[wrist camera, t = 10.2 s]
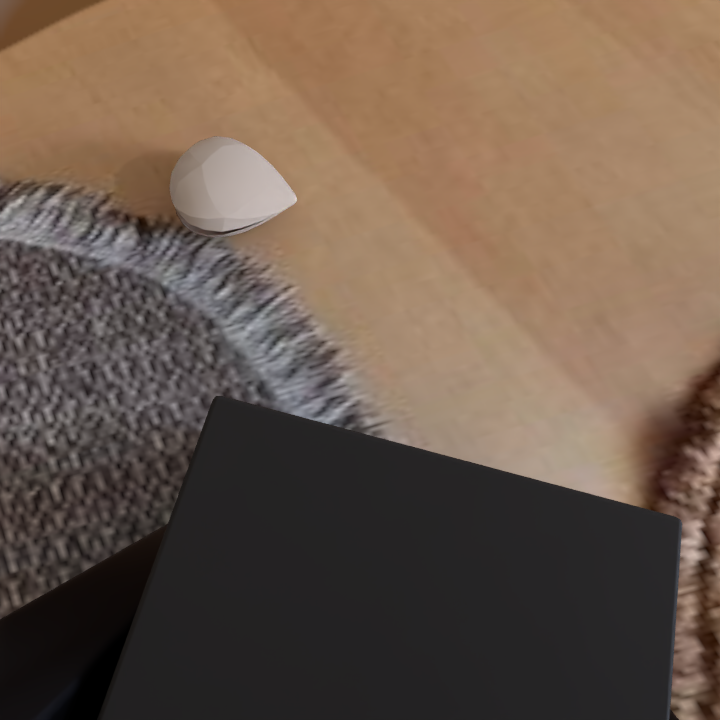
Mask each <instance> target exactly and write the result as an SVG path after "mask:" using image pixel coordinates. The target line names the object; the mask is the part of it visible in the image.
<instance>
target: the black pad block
mask: <svg viewBox="0 0 720 720" xmlns="http://www.w3.org/2000/svg"><path fill="white" fill-rule="evenodd" d="M681 531H682V522H681V520H680V519H678V518H677V517H674V516H670V515H667V514H663V513H659V512H655V511H652V510H648V509H644V508H640V507H637V506H633V505H629V504H625V503H622V502H618V501H614V500H610V499H607V498H603V497H599V496H595V495H592V494H588V493H584V492H580V491H577V490H573V489H569V488H565V487H562V486H558V485H554V484H550V483H547V482H543V481H539V480H535V479H531V478H528V477H524V476H520V475H516V474H513V473H509V472H505V471H501V470H498V469H494V468H490V467H486V466H483V465H479V464H475V463H471V462H468V461H464V460H460V459H456V458H453V457H449V456H445V455H441V454H438V453H434V452H430V451H426V450H423V449H419V448H415V447H411V446H407V445H404V444H400V443H396V442H392V441H389V440H385V439H381V438H377V437H374V436H370V435H366V434H362V433H359V432H355V431H351V430H347V429H344V428H340V427H336V426H332V425H329V424H325V423H321V422H317V421H314V420H310V419H306V418H302V417H299V416H295V415H291V414H287V413H284V412H280V411H276V410H272V409H268V408H265V407H261V406H257V405H253V404H250V403H246V402H242V401H238V400H235V399H231V398H227V397H223V396H216V397H215V398H214V399H213V401H212V404H211V406H210V409H209V412H208V415H207V417H206V420H205V423H204V426H203V428H202V431H201V434H200V437H199V440H198V442H197V445H196V448H195V451H194V453H193V456H192V459H191V462H190V464H189V467H188V470H187V473H186V475H185V478H184V481H183V484H182V486H181V489H180V492H179V495H178V498H177V500H176V503H175V506H174V509H173V511H172V514H171V517H170V520H169V522H168V525H167V528H166V531H165V533H164V536H163V539H162V542H161V544H160V547H159V550H158V553H157V556H156V558H155V561H154V564H153V567H152V569H151V572H150V575H149V578H148V580H147V583H146V586H145V589H144V591H143V594H142V597H141V600H140V602H139V605H138V608H137V611H136V613H135V616H134V619H133V622H132V625H131V627H130V630H129V633H128V636H127V638H126V641H125V644H124V647H123V649H122V652H121V655H120V658H119V660H118V663H117V666H116V669H115V671H114V674H113V677H112V680H111V683H110V685H109V688H108V691H107V694H106V696H105V699H104V702H103V705H102V707H101V710H100V713H99V716H98V718H97V720H669V718H670V702H671V686H672V671H673V655H674V640H675V624H676V609H677V593H678V578H679V562H680V547H681Z"/></svg>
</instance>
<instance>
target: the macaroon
mask: <svg viewBox="0 0 720 720" xmlns="http://www.w3.org/2000/svg"><path fill="white" fill-rule="evenodd" d="M170 193H171V198H172V203H173V204H174V206H175V209H176V214H177V215H178V217H179V218H180V220H181V221H182V223H183V224H184V225H185V226H186V227H187V228H188V229H189V230H191V231H192V232H194V233H196V234H199V235H204V236H208V237H213V238H214V237H224V236H231V235H235V234H239V233H243V232H245V231H248V230H250V229H252V228H254V227H256V226H259V225H261V224H263V223H264V222H266V221H268V220H270V219H271V218H273V217H275V216H276V215H278V214H279V213H281V212H282V211H284V210H285V209H287V208H289V207H290V206H292V205H294V204H295V202H296V201H297V198H296V195H295V193H294V192H293V191H292V189H291V188H290V187H289V185H288V184H287V183H286V181H285V180H284V179H283V177H282V176H281V175H280V174H279V173H278V172H277V171H276V169H275V168H274V167H273V166H272V165H271V164H270V163H269V162H268V161H267V160H266V159H265V158H263V157H262V156H261V155H260V154H259V153H258V152H256V151H255V150H253V149H252V148H250V147H249V146H247V145H245V144H243V143H241V142H239V141H237V140H235V139H233V138H227V137H218V136H214V137H211V138H208V139H204V140H201V141H199V142H197V143H196V144H194V145H193V146H192V147H191V148H189V149H188V150H187V151H186V152H185V153H184V154H183V155H182V156H181V157H180V158H179V160H178V162H177V164H176V165H175V167H174V169H173V171H172V174H171V181H170Z"/></svg>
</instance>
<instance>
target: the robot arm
mask: <svg viewBox="0 0 720 720" xmlns="http://www.w3.org/2000/svg"><path fill="white" fill-rule="evenodd" d="M167 525H168V524H167ZM167 525H165V526H163V527H161V528H160V529H158V530H156V531H154V532H153V533H151V534H149V535H147V536H146V537H144V538H142V539H140V540H139V541H137V542H135V543H133V544H132V545H130V546H128V547H126V548H125V549H123V550H121V551H119V552H118V553H116V554H114V555H112V556H111V557H109V558H107V559H105V560H104V561H102V562H100V563H98V564H97V565H95V566H93V567H91V568H90V569H88V570H86V571H84V572H83V573H81V574H79V575H77V576H76V577H74V578H72V579H70V580H69V581H67V582H65V583H63V584H61V585H60V586H58V587H56V588H54V589H53V590H51V591H49V592H47V593H46V594H44V595H42V596H40V597H39V598H37V599H35V600H33V601H32V602H30V603H28V604H26V605H25V606H23V607H21V608H19V609H18V610H16V611H14V612H12V613H11V614H9V615H7V616H5V617H4V618H2V619H0V720H97V718H98V716H99V713H100V710H101V707H102V705H103V702H104V699H105V696H106V694H107V691H108V688H109V685H110V683H111V680H112V677H113V674H114V671H115V669H116V666H117V663H118V660H119V658H120V655H121V652H122V649H123V647H124V644H125V641H126V638H127V636H128V633H129V630H130V627H131V625H132V622H133V619H134V616H135V613H136V611H137V608H138V605H139V602H140V600H141V597H142V594H143V591H144V589H145V586H146V583H147V580H148V578H149V575H150V572H151V569H152V567H153V564H154V561H155V558H156V556H157V553H158V550H159V547H160V544H161V542H162V539H163V536H164V533H165V531H166V528H167ZM669 720H679V719H678V718H677V717H676V716H675V714H674V713H673V712H672V711H671V710H670V718H669Z"/></svg>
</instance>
